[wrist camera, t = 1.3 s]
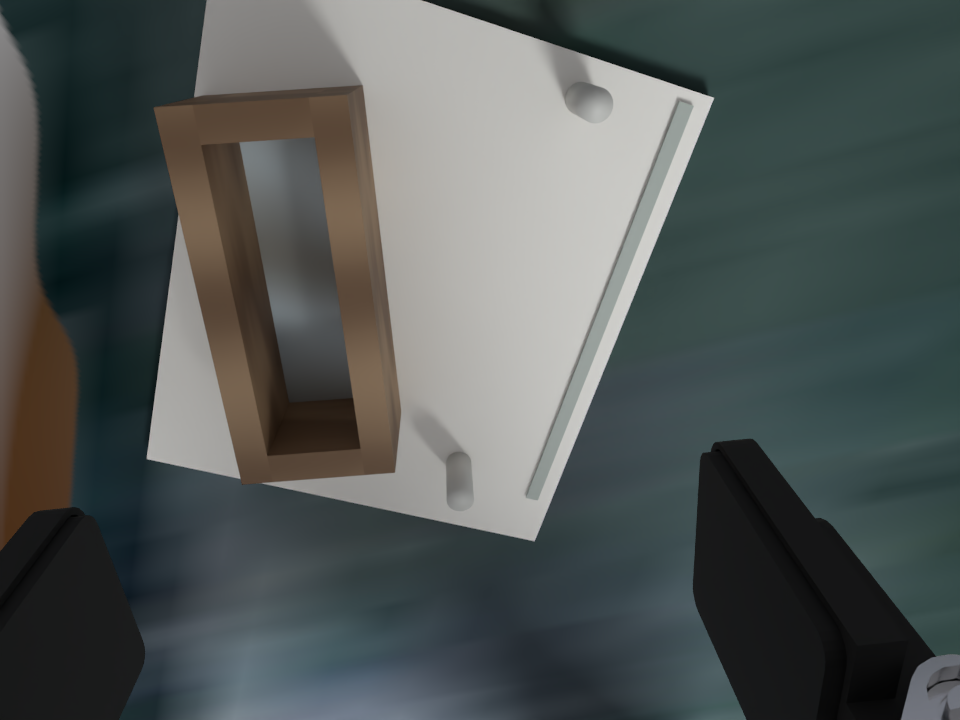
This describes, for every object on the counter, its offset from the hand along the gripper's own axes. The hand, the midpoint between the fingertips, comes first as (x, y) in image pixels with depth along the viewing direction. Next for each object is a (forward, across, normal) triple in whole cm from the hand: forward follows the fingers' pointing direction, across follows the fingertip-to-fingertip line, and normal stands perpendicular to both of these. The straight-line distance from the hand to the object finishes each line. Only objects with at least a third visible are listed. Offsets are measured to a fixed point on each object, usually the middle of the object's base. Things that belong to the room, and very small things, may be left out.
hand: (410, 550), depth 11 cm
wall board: (+20, +1, +3) cm, 21 cm away
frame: (+20, +5, +1) cm, 21 cm away
